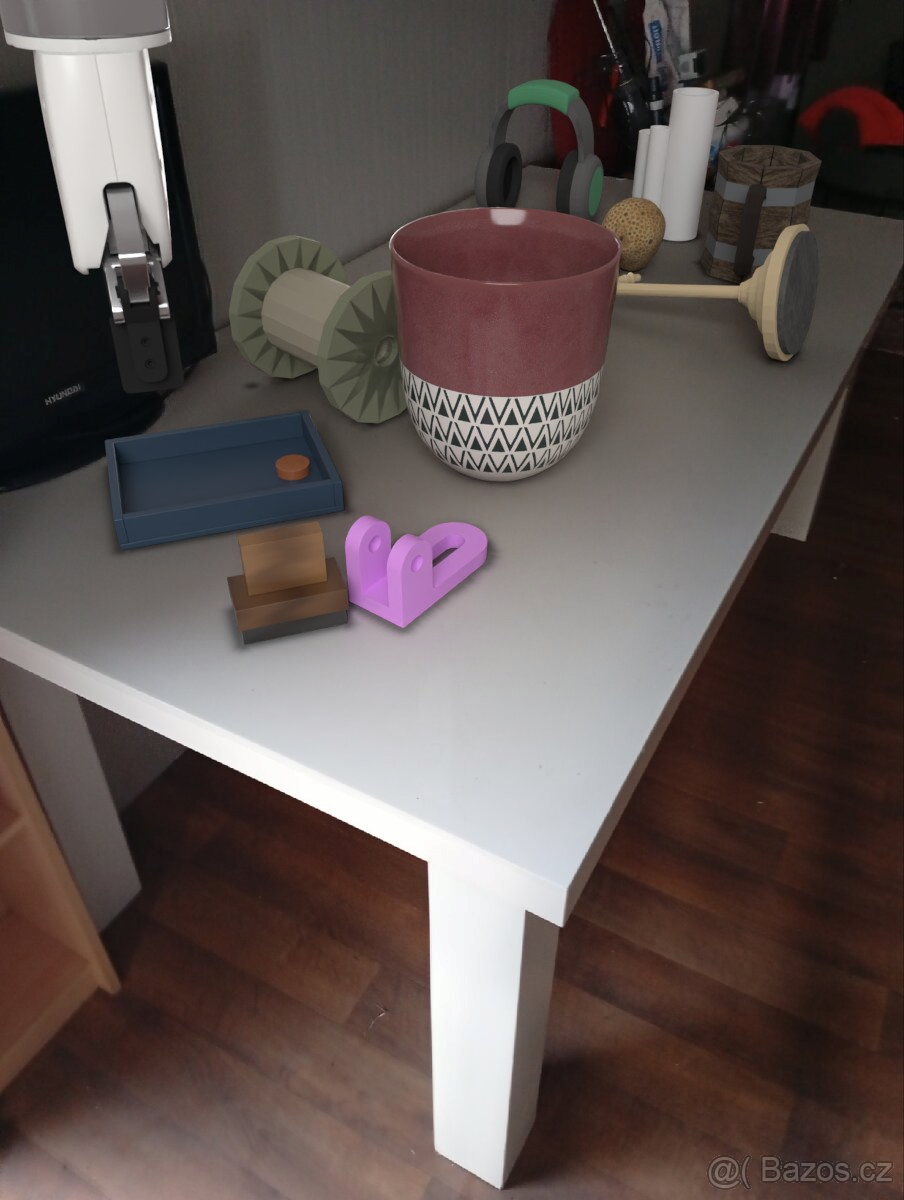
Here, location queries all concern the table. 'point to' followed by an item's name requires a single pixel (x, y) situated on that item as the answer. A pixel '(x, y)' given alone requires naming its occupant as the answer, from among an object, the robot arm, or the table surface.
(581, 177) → the headphones
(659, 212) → the natural sponge
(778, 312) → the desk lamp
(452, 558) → the bracket
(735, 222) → the mug
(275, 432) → the tray
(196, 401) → the table surface
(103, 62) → the robot arm
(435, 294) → the planter
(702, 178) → the vase
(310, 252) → the spool
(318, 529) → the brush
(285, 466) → the orange disc
